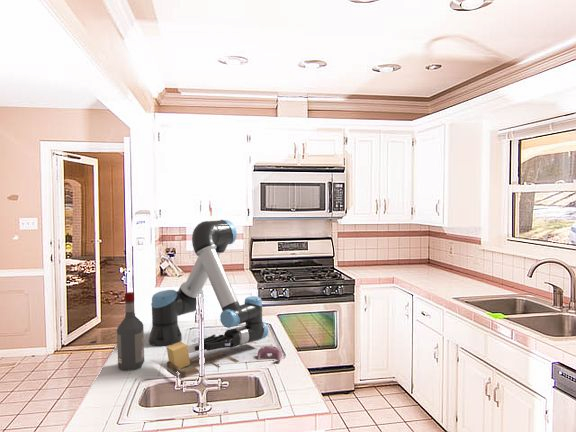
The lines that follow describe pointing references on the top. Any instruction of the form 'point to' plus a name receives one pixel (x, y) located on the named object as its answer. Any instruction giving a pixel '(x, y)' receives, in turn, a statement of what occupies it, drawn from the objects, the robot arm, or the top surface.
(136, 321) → the liquor
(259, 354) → the pink arch block
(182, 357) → the ochre block
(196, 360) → the trap box
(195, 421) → the top surface
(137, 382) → the top surface
